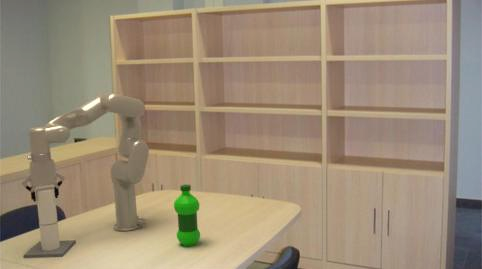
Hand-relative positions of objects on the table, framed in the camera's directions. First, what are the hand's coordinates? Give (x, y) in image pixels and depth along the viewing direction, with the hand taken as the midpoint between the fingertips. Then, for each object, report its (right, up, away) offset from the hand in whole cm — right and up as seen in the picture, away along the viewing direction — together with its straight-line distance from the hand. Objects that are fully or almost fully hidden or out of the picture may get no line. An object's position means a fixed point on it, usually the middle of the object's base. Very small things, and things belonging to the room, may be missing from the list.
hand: (45, 198), depth 220 cm
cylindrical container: (+1, -21, +3) cm, 21 cm away
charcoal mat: (+1, -22, +3) cm, 22 cm away
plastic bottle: (+59, -19, +3) cm, 62 cm away
